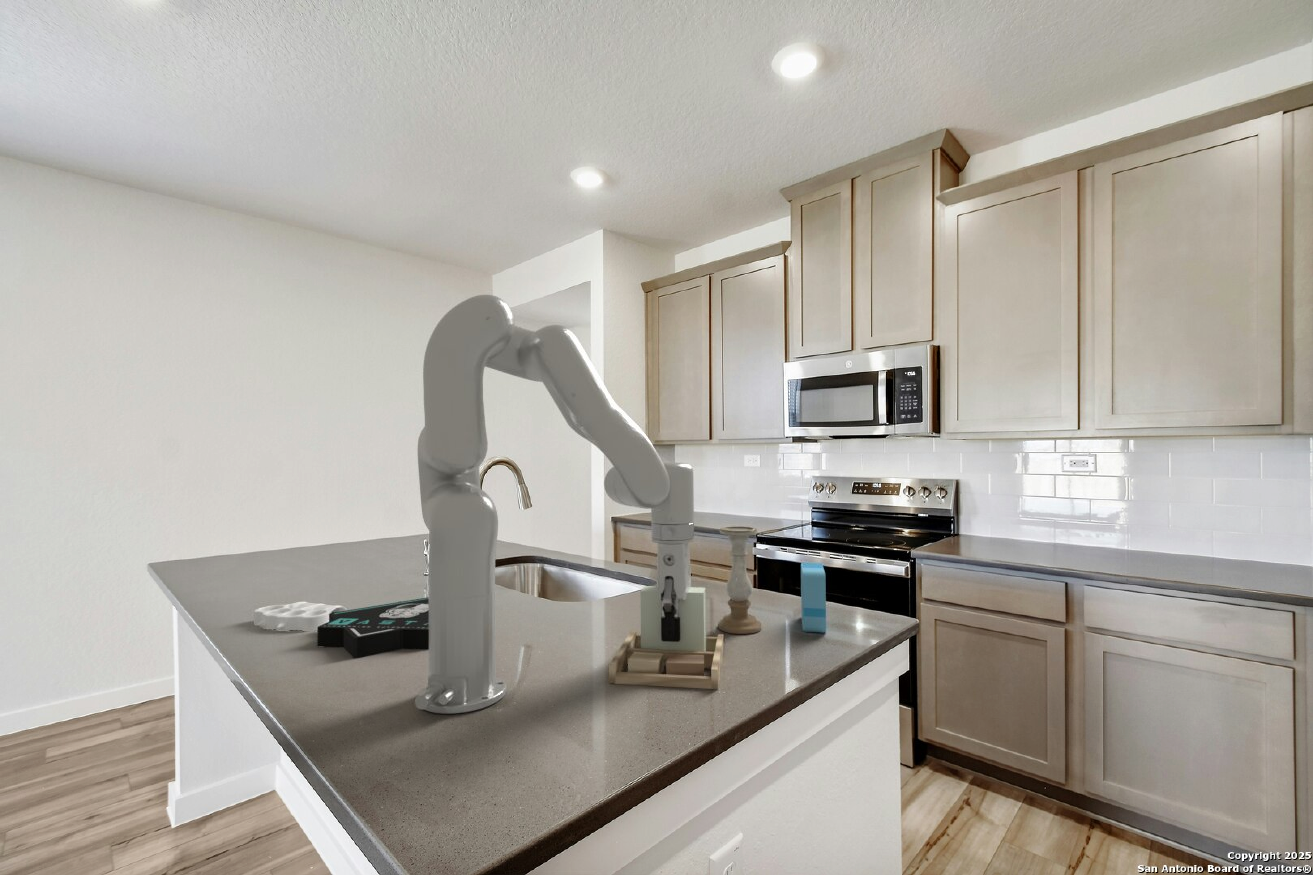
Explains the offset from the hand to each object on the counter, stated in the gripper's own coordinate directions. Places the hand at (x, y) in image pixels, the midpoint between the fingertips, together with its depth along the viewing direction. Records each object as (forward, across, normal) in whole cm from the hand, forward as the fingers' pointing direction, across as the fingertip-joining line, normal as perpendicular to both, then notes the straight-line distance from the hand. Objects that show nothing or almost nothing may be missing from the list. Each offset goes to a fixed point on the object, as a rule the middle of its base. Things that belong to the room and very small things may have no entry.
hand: (673, 633), depth 106 cm
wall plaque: (+5, +7, +57) cm, 58 cm away
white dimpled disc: (+5, +11, +83) cm, 84 cm away
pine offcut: (+4, -8, +4) cm, 10 cm away
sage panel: (+4, 0, 0) cm, 4 cm away
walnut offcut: (+4, -8, -3) cm, 10 cm away
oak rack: (+4, -4, 0) cm, 6 cm away
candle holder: (+4, +19, -11) cm, 22 cm away
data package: (+4, +23, -26) cm, 35 cm away
